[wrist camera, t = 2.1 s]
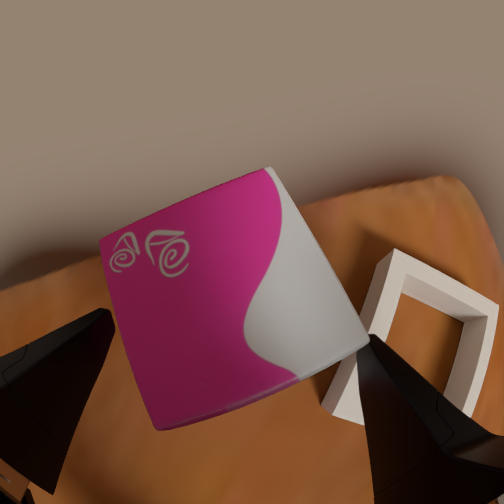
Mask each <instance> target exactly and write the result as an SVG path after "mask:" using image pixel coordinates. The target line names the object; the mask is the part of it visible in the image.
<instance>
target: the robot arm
mask: <svg viewBox="0 0 504 504" xmlns="http://www.w3.org/2000/svg"><path fill="white" fill-rule="evenodd" d="M114 334H115V325H114V321H113V318H112V314H111V312H110V310H108V309H104V308H99V309H97V310H94V311H92V312H90V313H88V314H86V315H84V316H82V317H80V318H78V319H76V320H74V321H72V322H70V323H68V324H66V325H64V326H62V327H60V328H58V329H56V330H54V331H52V332H50V333H48V334H46V335H44V336H42V337H41V338H39V339H37V340H35V341H33V342H31V343H29V345H28V344H27V345H25V346H23V347H21V348H19V349H17V350H15V351H13V352H11V353H8V354H6V355H4V356H2V357H0V504H35V503H34V500H33V497H32V494H31V491H30V489H28V488H27V487H28V485H29V483H30V481H31V482H33V483H34V484H36V485H37V486H39V487H40V488H42V489H43V490H45V491H47V492H48V493H50V494H51V495H53V494H54V492H55V488H56V485H57V482H58V479H59V475H60V472H61V469H62V466H63V463H64V460H65V457H66V455H67V451H68V449H69V446H70V443H71V440H72V438H73V435H74V432H75V430H76V427H77V425H78V422H79V420H80V417H81V415H82V412H83V410H84V407H85V405H86V403H87V400H88V398H89V396H90V393H91V391H92V389H93V387H94V384H95V382H96V380H97V378H98V375H99V373H100V371H101V369H102V367H103V364H104V361H105V359H106V356H107V353H108V350H109V347H110V345H111V342H112V339H113V336H114ZM368 335H369V338H370V341H369V343H368V344H367V345H365V346H364V347H362V348H361V349H359V350H357V353H356V361H357V372H358V385H359V395H360V401H361V407H362V412H363V418H364V424H365V430H366V437H367V443H368V450H369V457H370V465H371V473H372V482H373V492H374V496H375V497H374V504H504V436H499V435H495V434H492V433H490V432H489V431H487V430H486V429H484V428H483V427H482V426H480V425H479V424H478V423H476V422H475V421H474V420H472V419H471V418H470V417H468V416H467V415H466V414H465V413H463V412H462V411H461V410H460V409H458V408H457V407H456V406H455V405H453V404H452V403H451V402H450V401H449V400H448V399H447V398H445V397H444V396H443V395H442V394H441V393H440V392H438V390H437V389H436V388H435V387H433V386H432V385H431V384H430V383H429V382H428V381H427V380H426V379H425V378H424V377H422V376H421V375H420V374H419V373H418V372H417V371H416V370H415V369H414V368H413V367H411V366H410V365H409V364H408V363H407V362H406V361H405V360H404V359H403V358H401V357H400V356H399V355H398V354H397V353H396V352H395V351H394V350H393V349H391V348H390V347H389V346H388V345H387V344H386V343H385V342H384V341H382V340H381V339H380V338H379V337H378V336H377V335H375V334H368Z"/></svg>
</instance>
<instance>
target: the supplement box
mask: <svg viewBox="0 0 504 504" xmlns="http://www.w3.org/2000/svg"><path fill="white" fill-rule="evenodd" d="M99 245H100V252H101V257H102V263H103V268H104V273H105V277H106V281H107V285H108V289H109V293H110V296H111V300H112V304H113V307H114V311H115V315H116V319H117V322H118V326H119V330H120V333H121V336H122V340H123V343H124V346H125V350H126V353H127V356H128V359H129V362H130V365H131V368H132V371H133V374H134V377H135V380H136V383H137V385H138V388H139V391H140V393H141V396H142V398H143V401H144V404H145V406H146V408H147V411H148V413H149V416H150V418H151V420H152V423H153V426H154V427H155V429H156V430H157V431H162V430H171V429H175V428H179V427H183V426H187V425H190V424H194V423H197V422H200V421H204V420H207V419H210V418H213V417H216V416H219V415H222V414H225V413H228V412H230V411H233V410H236V409H239V408H241V407H244V406H246V405H249V404H251V403H254V402H256V401H258V400H261V399H263V398H266V397H268V396H270V395H272V394H275V393H277V392H279V391H281V390H284V389H286V388H288V387H290V386H292V385H294V384H296V383H298V382H300V381H302V380H304V379H306V378H308V377H310V376H312V375H314V374H316V373H318V372H320V371H322V370H324V369H326V368H328V367H329V366H331V365H333V364H335V363H336V362H338V361H340V360H342V359H344V358H346V357H347V356H349V355H351V354H352V353H354V352H356V351H357V350H359V349H361V348H362V347H364V346H365V345H367V344H368V343H369V341H370V338H369V335H368V333H367V331H366V330H365V328H364V326H363V324H362V322H361V320H360V318H359V316H358V314H357V312H356V310H355V309H354V307H353V305H352V303H351V301H350V299H349V297H348V295H347V293H346V292H345V290H344V288H343V286H342V284H341V283H340V281H339V279H338V277H337V276H336V274H335V272H334V270H333V268H332V267H331V265H330V263H329V261H328V260H327V258H326V256H325V254H324V253H323V251H322V249H321V247H320V246H319V244H318V242H317V241H316V239H315V237H314V236H313V234H312V232H311V231H310V229H309V227H308V226H307V224H306V222H305V221H304V219H303V217H302V216H301V214H300V212H299V211H298V209H297V207H296V206H295V204H294V202H293V201H292V199H291V197H290V196H289V194H288V192H287V191H286V189H285V187H284V186H283V184H282V182H281V181H280V179H279V178H278V176H277V175H276V173H275V171H274V170H273V168H272V167H270V166H268V167H265V168H262V169H260V170H258V171H254V172H251V173H248V174H246V175H244V176H241V177H239V178H236V179H233V180H230V181H228V182H225V183H223V184H220V185H218V186H215V187H213V188H210V189H208V190H206V191H203V192H201V193H199V194H196V195H194V196H191V197H189V198H187V199H185V200H182V201H180V202H178V203H175V204H173V205H171V206H169V207H167V208H165V209H162V210H160V211H157V212H155V213H153V214H151V215H149V216H147V217H145V218H142V219H140V220H138V221H136V222H134V223H132V224H130V225H128V226H126V227H124V228H122V229H120V230H118V231H116V232H113V233H111V234H110V235H107V236H106V237H104V238H102V239H100V240H99Z"/></svg>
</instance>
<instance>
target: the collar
mask: <svg viewBox="0 0 504 504" xmlns="http://www.w3.org/2000/svg"><path fill="white" fill-rule="evenodd" d="M401 292H402V293H404V294H406V295H408V296H410V297H412V298H414V299H416V300H419V301H421V302H423V303H425V304H427V305H429V306H431V307H433V308H435V309H437V310H439V311H441V312H443V313H445V314H447V315H449V316H451V317H453V318H456V319H458V320H460V321H462V322H464V326H463V330H462V334H461V339H460V342H459V346H458V350H457V354H456V357H455V361H454V364H453V367H452V371H451V374H450V377H449V380H448V383H447V386H446V388H445V391H444V394H443V396H444V397H445V398H447V399H448V400H449V401H450V402H451V403H452V404H453V405H455V406H456V407H457V408H458V409H460V410H461V411H462V412H463V413H465V414H466V415H467V416H468V417H470V418H471V416H472V413H473V410H474V408H475V405H476V402H477V399H478V396H479V393H480V390H481V387H482V384H483V380H484V377H485V373H486V370H487V366H488V362H489V358H490V354H491V349H492V345H493V340H494V335H495V330H496V324H497V318H498V311H499V305H497V304H496V303H494V302H492V301H491V300H489V299H487V298H486V297H484V296H482V295H481V294H479V293H477V292H475V291H474V290H472V289H470V288H468V287H467V286H465V285H463V284H461V283H460V282H458V281H456V280H454V279H452V278H451V277H449V276H447V275H445V274H443V273H442V272H440V271H438V270H436V269H434V268H432V267H430V266H428V265H427V264H425V263H423V262H421V261H419V260H417V259H415V258H413V257H411V256H409V255H407V254H405V253H403V252H401V251H399V250H397V249H395V248H394V249H393V250H392V251H391V252H390V253H389V254H387V255H386V256H385V257H384V258H383V259H382V260H381V261H380V262H378V263H377V265H376V268H375V272H374V275H373V278H372V281H371V284H370V287H369V290H368V293H367V296H366V299H365V302H364V305H363V308H362V310H361V313H360V316H359V318H360V320H361V322H362V324H363V326H364V328H365V330H366V331H367V333H368V334H375V335H377V336H378V337H379V338H380V339H381V340H382V341H384V342H385V341H386V338H387V335H388V332H389V329H390V326H391V323H392V320H393V317H394V314H395V311H396V307H397V304H398V301H399V297H400V294H401ZM356 353H357V351H356V352H354V353H352V354H351V355H349V356H347V357H346V358H344V359H342V361H341V363H340V365H339V367H338V370H337V372H336V374H335V376H334V378H333V381H332V383H331V385H330V387H329V389H328V391H327V393H326V395H325V397H324V399H323V401H322V403H321V405H320V406H322V407H323V408H324V409H325V410H326V411H328V412H329V413H330V414H331V415H334V416H337V417H340V418H343V419H346V420H349V421H352V422H355V423H358V424H362V425H365V424H364V418H363V412H362V407H361V401H360V395H359V385H358V372H357V361H356Z"/></svg>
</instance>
